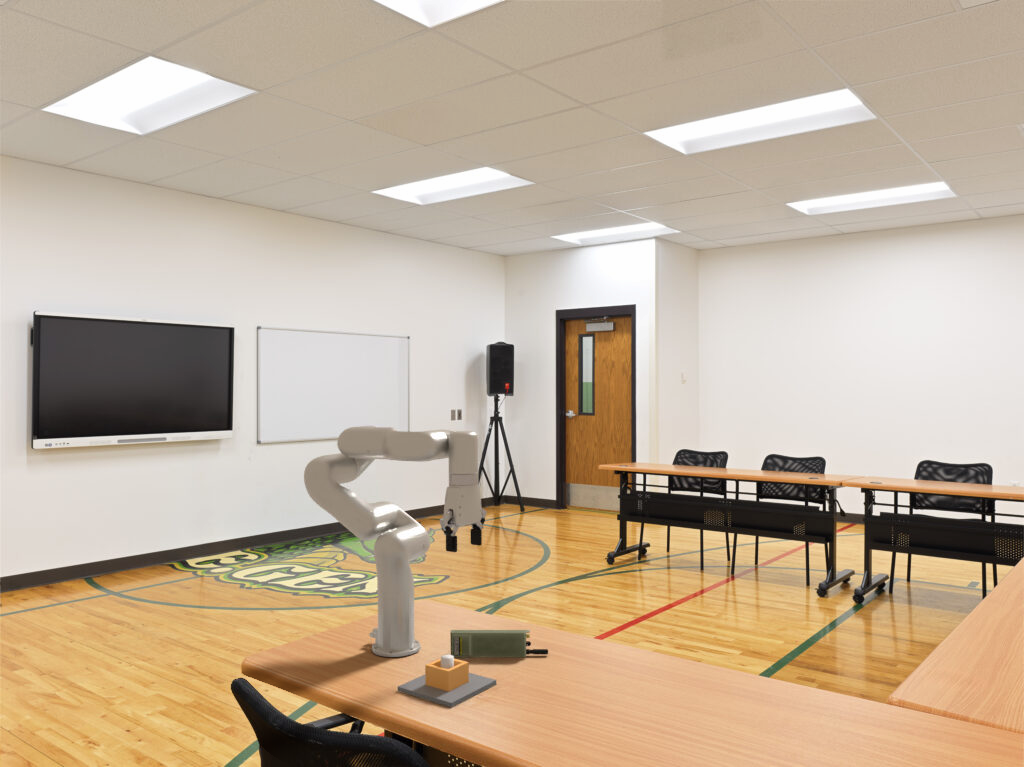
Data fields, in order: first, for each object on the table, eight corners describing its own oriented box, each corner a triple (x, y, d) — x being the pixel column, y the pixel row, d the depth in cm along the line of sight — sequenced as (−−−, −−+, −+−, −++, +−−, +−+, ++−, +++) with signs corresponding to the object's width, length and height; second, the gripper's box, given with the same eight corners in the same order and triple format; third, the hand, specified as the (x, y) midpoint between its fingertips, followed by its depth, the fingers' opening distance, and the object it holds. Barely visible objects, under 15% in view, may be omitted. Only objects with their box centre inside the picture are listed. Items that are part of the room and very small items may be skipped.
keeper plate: (397, 691, 176) (397, 660, 176) (443, 669, 189) (443, 641, 189) (451, 707, 167) (451, 675, 167) (496, 684, 180) (496, 654, 180)
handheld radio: (451, 654, 201) (548, 654, 200) (450, 659, 198) (548, 659, 197) (451, 628, 201) (547, 628, 200) (449, 633, 197) (548, 633, 197)
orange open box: (425, 684, 177) (425, 664, 177) (445, 675, 183) (445, 656, 183) (448, 691, 173) (448, 671, 173) (468, 681, 179) (468, 662, 179)
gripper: (473, 476, 205) (473, 540, 205) (429, 482, 191) (429, 552, 191) (496, 477, 200) (496, 544, 200) (452, 484, 186) (453, 556, 186)
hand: (464, 548), depth 196 cm, fingers open, 9 cm apart
